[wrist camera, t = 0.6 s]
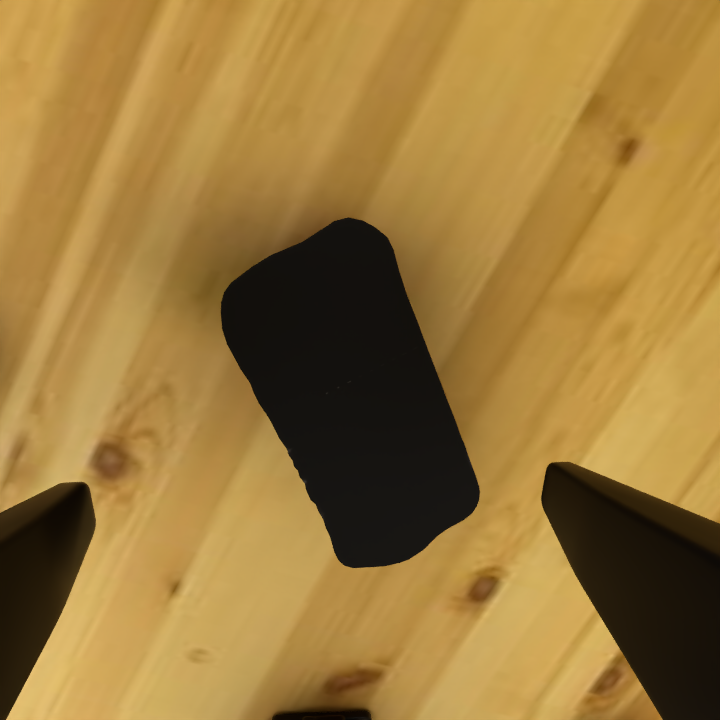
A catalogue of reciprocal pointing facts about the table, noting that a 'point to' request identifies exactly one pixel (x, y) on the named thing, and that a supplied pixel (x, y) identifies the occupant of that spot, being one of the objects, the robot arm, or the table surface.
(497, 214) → the table surface
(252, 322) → the black sponge
